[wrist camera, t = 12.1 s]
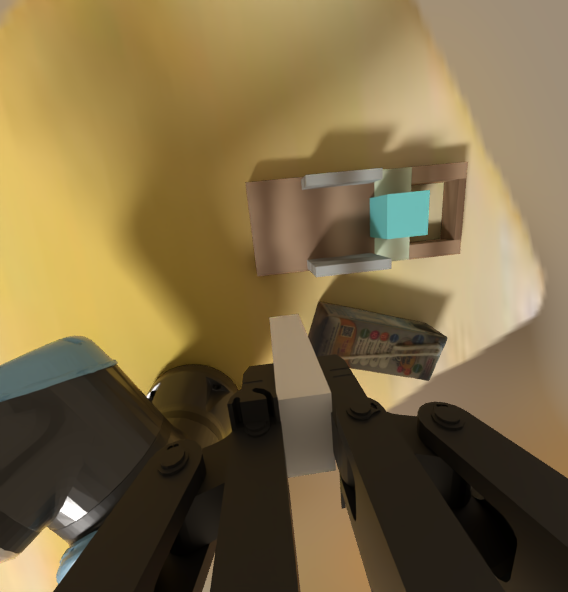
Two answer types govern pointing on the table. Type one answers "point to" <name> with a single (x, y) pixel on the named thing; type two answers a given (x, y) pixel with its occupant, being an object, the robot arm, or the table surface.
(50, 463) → the robot arm
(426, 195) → the teal block
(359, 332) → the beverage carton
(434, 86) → the table surface
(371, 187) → the brown piece
